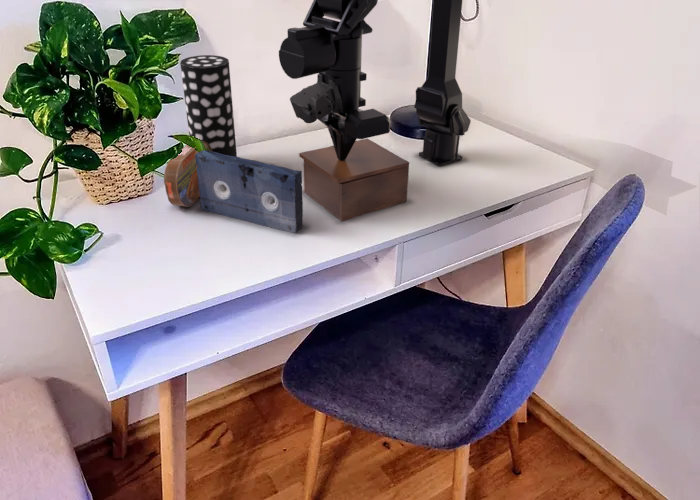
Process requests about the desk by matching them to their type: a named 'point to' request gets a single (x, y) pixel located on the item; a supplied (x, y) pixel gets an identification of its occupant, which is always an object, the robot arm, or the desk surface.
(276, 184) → the vhs cassette tape
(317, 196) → the bread box
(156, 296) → the desk surface
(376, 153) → the bin lid
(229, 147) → the white-spotted black cylinder
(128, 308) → the desk surface
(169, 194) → the tin
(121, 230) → the desk surface
